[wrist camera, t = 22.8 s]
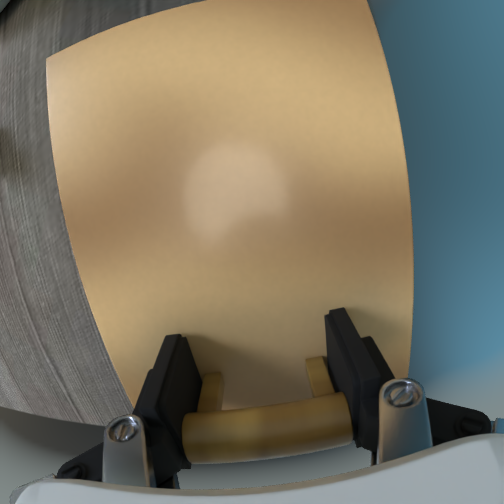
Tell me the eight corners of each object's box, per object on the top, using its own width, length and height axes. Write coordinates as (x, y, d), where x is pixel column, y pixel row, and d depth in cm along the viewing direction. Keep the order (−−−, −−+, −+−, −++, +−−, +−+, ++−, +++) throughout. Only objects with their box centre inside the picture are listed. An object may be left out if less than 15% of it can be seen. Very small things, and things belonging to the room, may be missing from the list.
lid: (401, 369, 13) (447, 441, 8) (143, 408, 13) (113, 485, 8) (357, -2, 9) (405, -70, 4) (55, 62, 9) (-22, 30, 4)
